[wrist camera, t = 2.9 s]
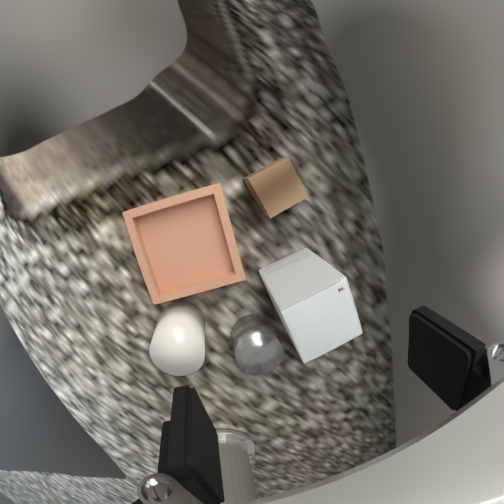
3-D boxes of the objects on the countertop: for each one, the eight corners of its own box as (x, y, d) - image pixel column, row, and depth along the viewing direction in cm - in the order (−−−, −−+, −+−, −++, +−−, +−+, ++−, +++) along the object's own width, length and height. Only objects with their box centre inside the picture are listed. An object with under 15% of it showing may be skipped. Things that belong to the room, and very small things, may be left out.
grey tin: (276, 343, 42) (286, 366, 36) (237, 354, 41) (242, 379, 36) (268, 309, 40) (277, 329, 34) (226, 320, 40) (229, 343, 34)
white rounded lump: (210, 336, 40) (212, 369, 32) (168, 346, 40) (162, 380, 32) (196, 296, 38) (194, 324, 31) (152, 307, 38) (140, 337, 30)
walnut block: (296, 194, 37) (308, 196, 32) (262, 213, 37) (270, 218, 32) (277, 159, 36) (287, 157, 31) (242, 178, 36) (248, 178, 31)
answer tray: (243, 273, 38) (245, 279, 36) (156, 297, 37) (153, 304, 35) (219, 182, 35) (220, 183, 33) (127, 210, 34) (122, 212, 32)
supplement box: (256, 269, 39) (278, 309, 26) (307, 245, 39) (349, 275, 27) (276, 314, 41) (302, 366, 29) (323, 292, 41) (365, 334, 29)
